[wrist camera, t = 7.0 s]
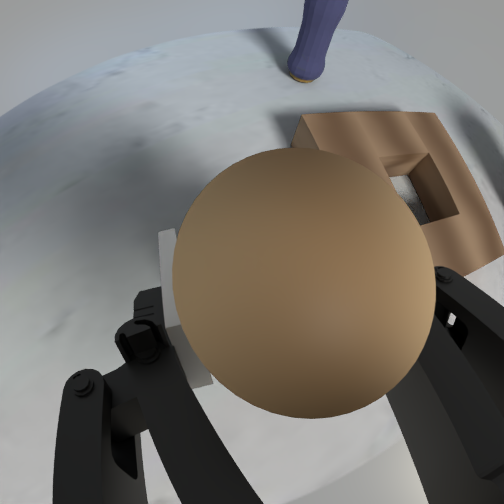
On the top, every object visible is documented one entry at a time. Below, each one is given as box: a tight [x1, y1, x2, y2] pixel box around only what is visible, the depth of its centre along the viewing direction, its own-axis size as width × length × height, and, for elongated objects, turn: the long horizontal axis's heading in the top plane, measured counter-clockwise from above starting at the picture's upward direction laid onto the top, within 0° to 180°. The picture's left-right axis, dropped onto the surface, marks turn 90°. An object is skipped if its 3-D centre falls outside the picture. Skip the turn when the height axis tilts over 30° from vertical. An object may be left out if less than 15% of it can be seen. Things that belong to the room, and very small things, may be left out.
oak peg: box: [172, 148, 436, 419], centre depth 11 cm, size 5×5×14 cm
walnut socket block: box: [291, 111, 504, 277], centre depth 24 cm, size 16×16×4 cm
